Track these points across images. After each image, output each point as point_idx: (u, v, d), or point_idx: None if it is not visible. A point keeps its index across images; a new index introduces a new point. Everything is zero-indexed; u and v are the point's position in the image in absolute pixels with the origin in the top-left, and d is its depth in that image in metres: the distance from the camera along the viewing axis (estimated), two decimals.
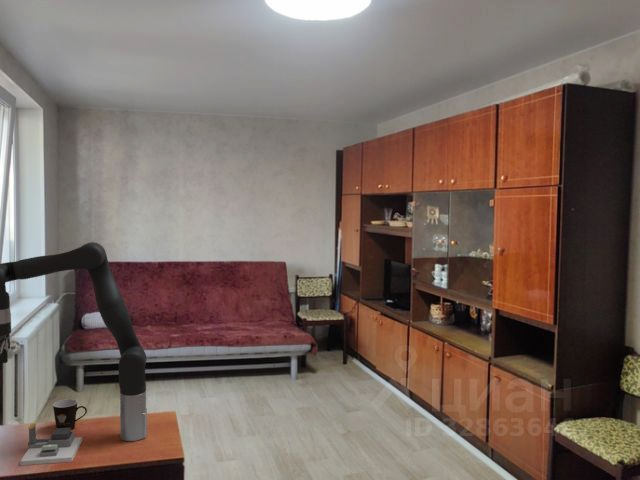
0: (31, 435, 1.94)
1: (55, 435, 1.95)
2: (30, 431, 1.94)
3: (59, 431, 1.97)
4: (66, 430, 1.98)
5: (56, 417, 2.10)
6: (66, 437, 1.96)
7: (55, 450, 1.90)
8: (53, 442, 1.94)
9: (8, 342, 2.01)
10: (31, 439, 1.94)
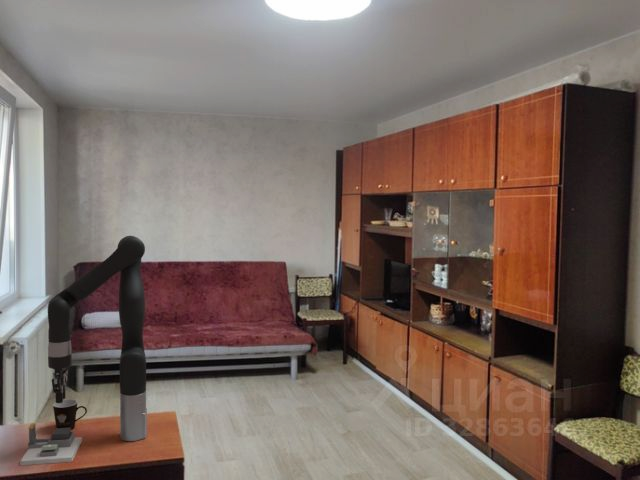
0: (31, 435, 1.94)
1: (55, 435, 1.95)
2: (30, 431, 1.94)
3: (59, 431, 1.97)
4: (66, 430, 1.98)
5: (56, 417, 2.10)
6: (66, 437, 1.96)
7: (55, 450, 1.90)
8: (53, 442, 1.94)
9: (66, 377, 2.01)
10: (31, 439, 1.94)
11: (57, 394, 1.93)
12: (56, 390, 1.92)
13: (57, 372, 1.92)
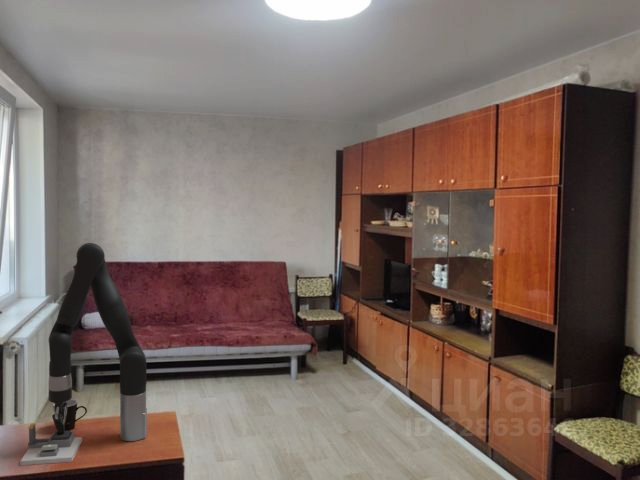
0: (31, 435, 1.94)
1: (55, 438, 1.95)
2: (30, 431, 1.94)
3: None
4: (66, 433, 1.98)
5: None
6: None
7: (55, 450, 1.90)
8: (53, 442, 1.94)
9: None
10: (31, 439, 1.94)
11: (58, 426, 1.96)
12: (57, 423, 1.94)
13: (57, 406, 1.93)
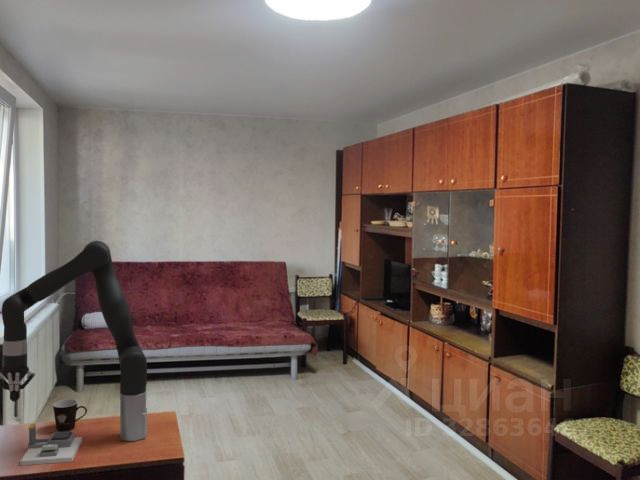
0: (31, 435, 1.94)
1: (55, 439, 1.95)
2: (30, 431, 1.94)
3: (59, 434, 1.97)
4: (66, 433, 1.98)
5: (56, 417, 2.10)
6: None
7: (55, 450, 1.90)
8: (53, 442, 1.94)
9: None
10: (31, 439, 1.94)
11: None
12: None
13: None
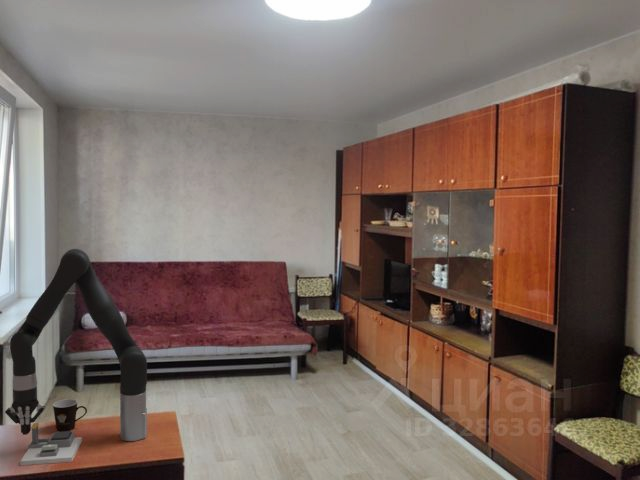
0: (34, 435, 1.94)
1: (55, 439, 1.95)
2: (33, 431, 1.94)
3: (59, 434, 1.97)
4: (66, 433, 1.98)
5: (56, 417, 2.10)
6: None
7: (55, 450, 1.90)
8: (53, 442, 1.94)
9: None
10: (34, 439, 1.94)
11: None
12: None
13: None
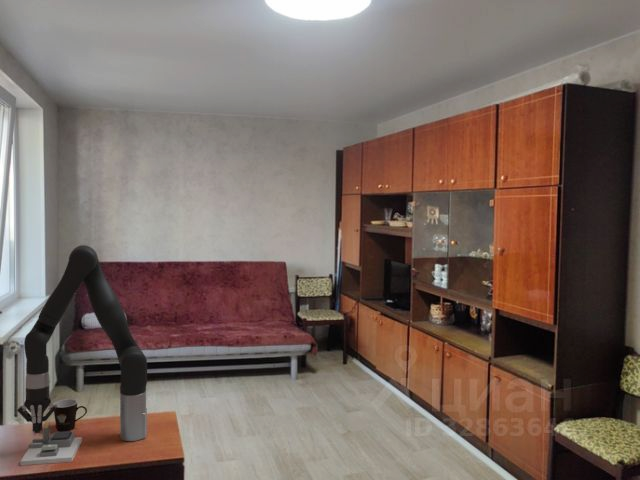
0: (45, 434, 1.95)
1: (55, 439, 1.95)
2: (44, 430, 1.95)
3: (59, 434, 1.97)
4: (66, 433, 1.98)
5: (56, 417, 2.10)
6: None
7: (55, 450, 1.90)
8: (53, 442, 1.94)
9: None
10: (45, 438, 1.95)
11: None
12: None
13: None
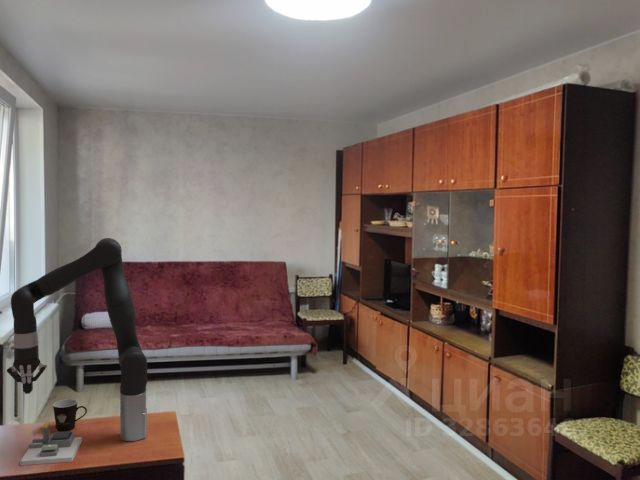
0: (45, 434, 1.95)
1: (55, 439, 1.95)
2: (44, 430, 1.95)
3: (59, 434, 1.97)
4: (66, 433, 1.98)
5: (56, 417, 2.10)
6: None
7: (55, 450, 1.90)
8: (53, 442, 1.94)
9: None
10: (45, 438, 1.95)
11: None
12: None
13: None
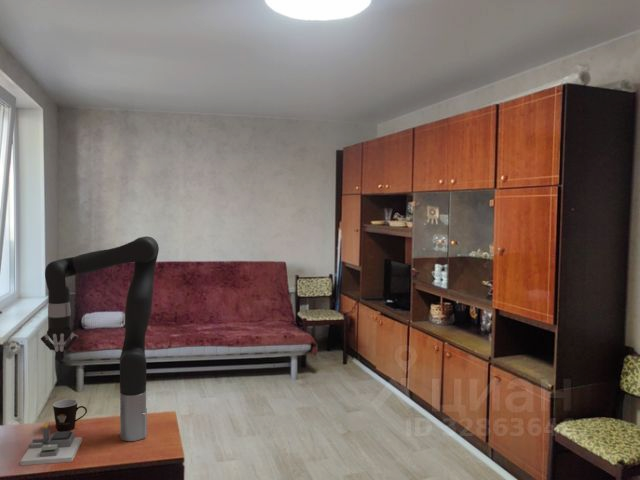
0: (45, 434, 1.95)
1: (55, 439, 1.95)
2: (44, 430, 1.95)
3: (59, 434, 1.97)
4: (66, 433, 1.98)
5: (56, 417, 2.10)
6: None
7: (55, 450, 1.90)
8: (53, 442, 1.94)
9: None
10: (45, 438, 1.95)
11: None
12: None
13: None
